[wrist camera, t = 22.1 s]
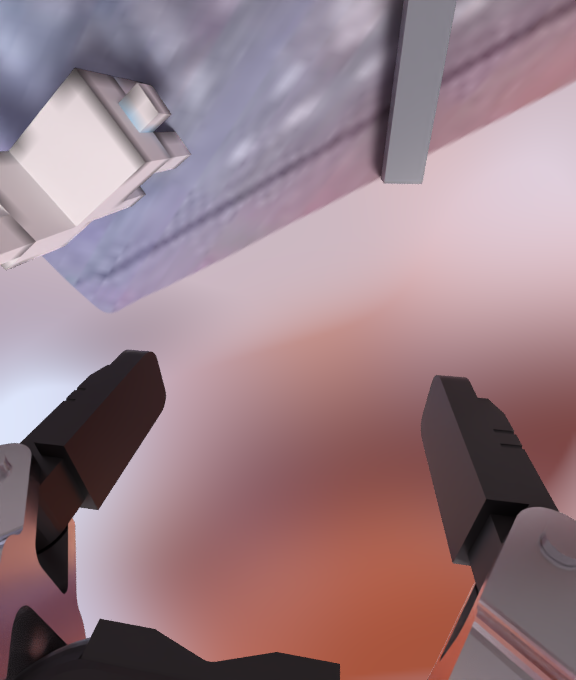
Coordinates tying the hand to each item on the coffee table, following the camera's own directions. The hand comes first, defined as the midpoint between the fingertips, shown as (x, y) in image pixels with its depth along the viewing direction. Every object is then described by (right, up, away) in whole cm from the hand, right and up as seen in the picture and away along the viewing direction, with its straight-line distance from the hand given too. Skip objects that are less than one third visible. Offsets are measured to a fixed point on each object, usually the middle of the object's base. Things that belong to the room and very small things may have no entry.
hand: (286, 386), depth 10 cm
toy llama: (-18, +22, +28) cm, 39 cm away
